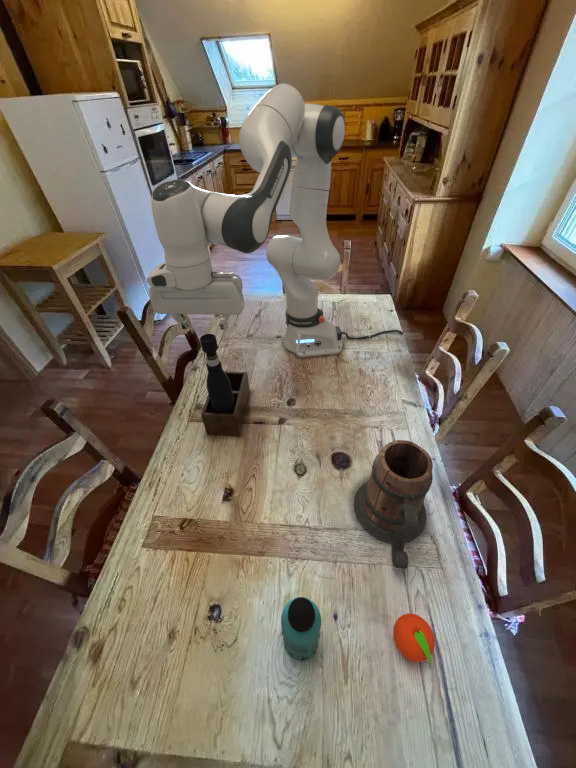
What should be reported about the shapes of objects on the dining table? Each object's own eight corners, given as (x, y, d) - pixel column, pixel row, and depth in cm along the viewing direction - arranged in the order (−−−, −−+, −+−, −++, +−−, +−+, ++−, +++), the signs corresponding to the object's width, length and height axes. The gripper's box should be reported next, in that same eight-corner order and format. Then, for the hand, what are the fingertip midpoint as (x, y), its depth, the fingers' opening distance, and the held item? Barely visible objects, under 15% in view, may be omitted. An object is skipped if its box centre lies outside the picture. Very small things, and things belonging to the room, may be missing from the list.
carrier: (250, 391, 113) (247, 371, 107) (239, 436, 99) (235, 416, 93) (221, 390, 113) (216, 370, 108) (207, 435, 100) (200, 414, 94)
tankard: (352, 474, 88) (361, 424, 75) (419, 480, 87) (441, 429, 73) (355, 572, 71) (367, 529, 58) (439, 581, 70) (471, 539, 56)
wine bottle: (239, 413, 104) (223, 330, 84) (235, 429, 100) (217, 346, 79) (219, 412, 105) (198, 330, 85) (213, 428, 100) (190, 345, 80)
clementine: (441, 662, 60) (453, 655, 55) (407, 680, 59) (416, 673, 54) (414, 612, 66) (423, 601, 61) (382, 627, 64) (389, 617, 59)
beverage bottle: (282, 622, 65) (276, 588, 52) (316, 619, 65) (319, 584, 52) (284, 666, 60) (279, 641, 47) (321, 662, 61) (327, 636, 47)
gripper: (243, 265, 72) (250, 321, 82) (150, 265, 74) (167, 320, 83) (237, 279, 68) (245, 336, 77) (138, 278, 69) (158, 335, 79)
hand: (204, 328), depth 80 cm, fingers open, 8 cm apart
